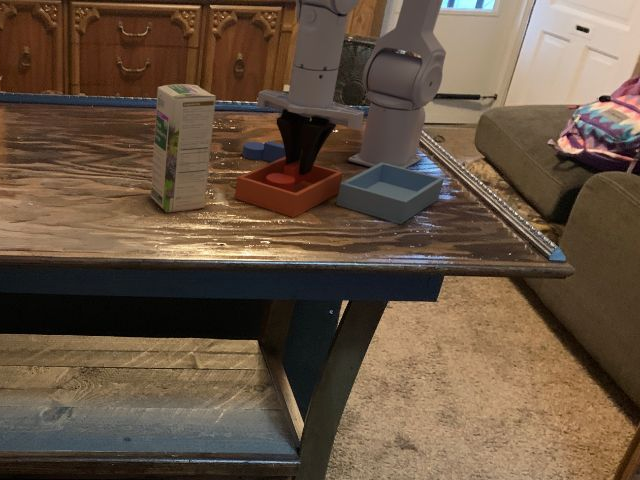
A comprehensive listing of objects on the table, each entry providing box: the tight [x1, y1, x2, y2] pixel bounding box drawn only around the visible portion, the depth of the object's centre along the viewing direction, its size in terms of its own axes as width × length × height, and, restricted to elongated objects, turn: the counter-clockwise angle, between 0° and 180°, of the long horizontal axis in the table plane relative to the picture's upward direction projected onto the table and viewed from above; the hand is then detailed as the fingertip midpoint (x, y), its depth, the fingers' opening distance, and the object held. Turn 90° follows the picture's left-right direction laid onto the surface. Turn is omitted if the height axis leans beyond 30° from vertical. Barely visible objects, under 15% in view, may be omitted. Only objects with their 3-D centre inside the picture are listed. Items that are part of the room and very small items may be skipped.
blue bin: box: [336, 162, 445, 225], centre depth 102 cm, size 12×9×3 cm
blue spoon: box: [241, 140, 285, 163], centre depth 115 cm, size 9×4×3 cm, turn 49°
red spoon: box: [265, 159, 313, 192], centre depth 102 cm, size 9×4×3 cm, turn 139°
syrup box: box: [150, 83, 217, 213], centre depth 96 cm, size 6×6×14 cm
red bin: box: [234, 156, 344, 218], centre depth 103 cm, size 12×9×3 cm
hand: (298, 171), depth 103 cm, fingers closed on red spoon
